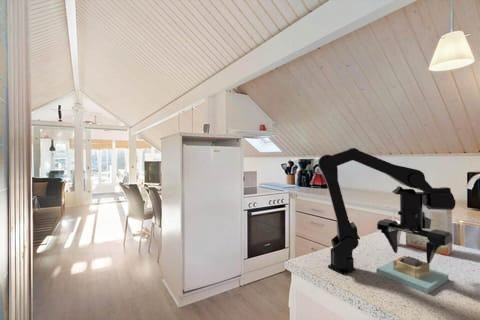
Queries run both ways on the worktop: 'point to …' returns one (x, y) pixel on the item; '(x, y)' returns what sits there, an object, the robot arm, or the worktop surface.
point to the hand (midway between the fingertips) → (411, 257)
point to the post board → (422, 284)
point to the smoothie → (398, 232)
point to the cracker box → (439, 222)
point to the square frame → (411, 268)
